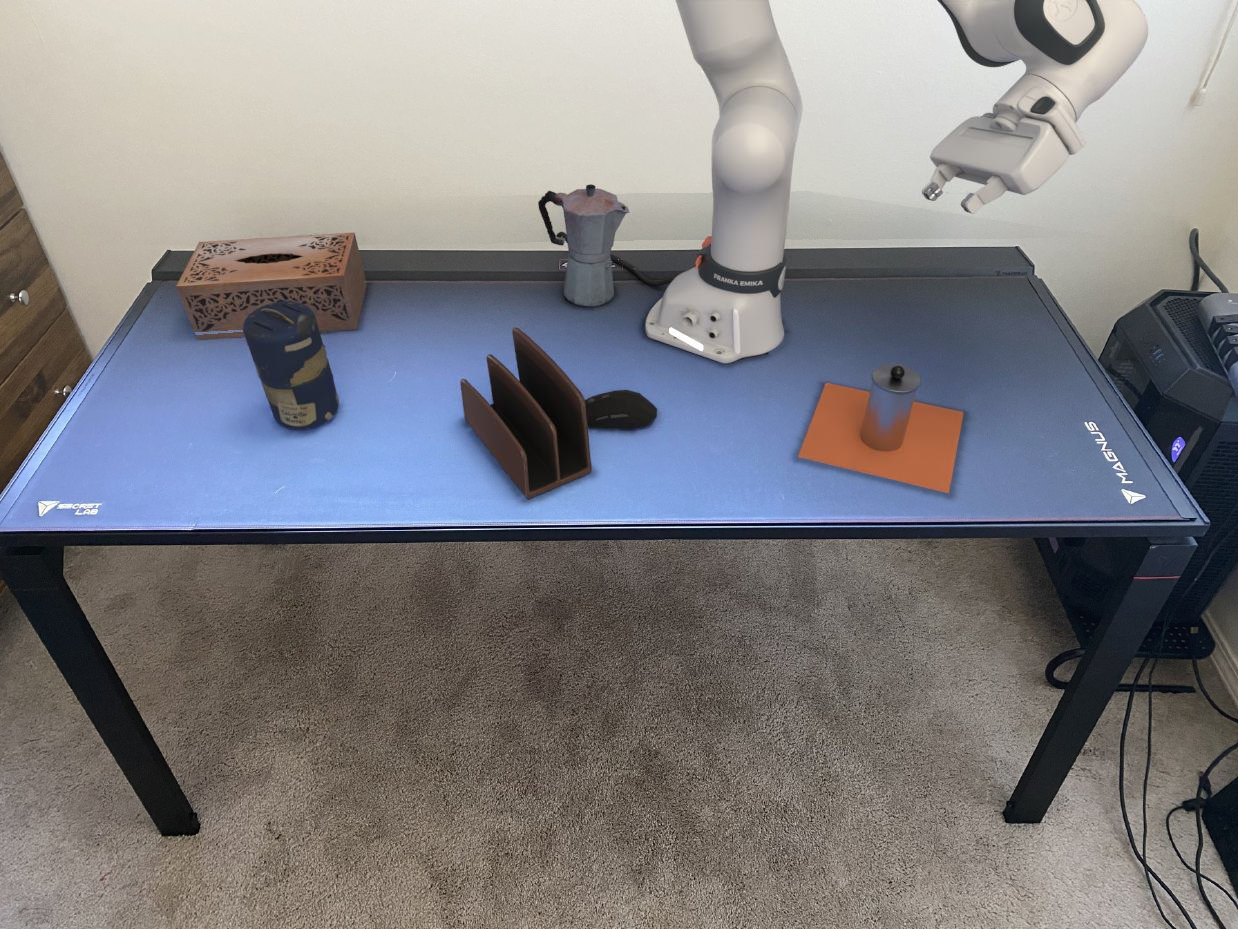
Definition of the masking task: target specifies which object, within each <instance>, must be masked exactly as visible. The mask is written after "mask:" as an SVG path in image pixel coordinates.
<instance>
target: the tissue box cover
mask: <svg viewBox="0 0 1238 929" xmlns="http://www.w3.org/2000/svg"><path fill="white" fill-rule="evenodd" d="M365 279H366V274H365V270H364V267H363V261H362V258H361V253H360V248H359V246H358V241H357V237H356V232H342V233H341V232H340V233H339V232H338V233H325V234H307V235H292V236H291V235H290V236H289V235H288V236H278V237H277V236H276V237H275V236H274V237H259V238H258V237H257V238H256V237H255V238H243V239H242V238H241V239H224V240H211V241H210V240H208V241H199V242H198V244H197V245H196V247H195V248H194V251H193V253H192V255H191V257H190V259H189V261H188V263H187V264H186V267H185V268H184V271H183V272H182V274H181V275H180V277H179V279H178V282H177V284H176V285H175V288H176V290H177V293H178V295H179V297H180V300H181V303H182V305H183V308H184V311H185V313H186V315H187V318H188V320H189V323H190V325H191V328H192V330H193V333H194V332H209V331H210V332H211V331H228V330H243V325H244V321H245V319H246V318H247V317H248V315H249V314H251V313H252V312H253V311H254V310H256V309H258V308H260V307H262V306H264V305H267V304H270V303H274V302H281V301H292V302H298V303H301V304H304V305H306V306H307V307H309V308H310V309H311V310H312V311H313V313H314V315H315V317H316V320H317V324H318V328H319V331H320V333H322V332H325V333H326V332H336V331H337V332H338V331H352V330H354V331H355V330H358V328H359V327H358V326H359V321H360V318H361V312H362V308H363V303H364V299H365V294H366V289H367V285H368V283H367V279H366V280H365ZM364 281H365V285H364ZM363 288H364V289H363ZM362 292H363V294H362ZM361 297H362V298H361ZM195 337H196V340H197V341H205V340H219V339H231V338H232V339H233V338H245V335H244V332H233V333H218V334H203V335H195Z"/></svg>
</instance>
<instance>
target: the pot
mask: <svg viewBox="0 0 1238 929" xmlns="http://www.w3.org/2000/svg"><path fill="white" fill-rule="evenodd" d="M921 383H922V379H921V376H920V375H919V374H918V372H917V371H916V370H914V369H912V368H911V367H909V366H906V365H904V364H901V363H885V364H880V365H879V366H876V367H875V368H874V370H873V371H872V373H871V385H870V391H869V392H870V394H869V399H868V403H867V408H866V412H865V417H864V422H863V426H862V431H861V439H862V441H863V442H864V443H865V444H866V445H867V446H868V447H870V448H872V449H875V450H878V451H886V452H887V451H894V450H896V449H898V448H900V447H901V446H902V444H903V441H904V437H905V433H906V429H907V426H908V422H909V418H910V414H911V410H912V407H913V403H914V402H915V398H916V395H917V391H918V389H919V388H920V385H921Z"/></svg>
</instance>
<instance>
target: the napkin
mask: <svg viewBox="0 0 1238 929" xmlns="http://www.w3.org/2000/svg"><path fill="white" fill-rule="evenodd" d="M823 386H824V387H823V389H822V392H821V394H820V397H819V400H818V402H817V404H816V407H815V410H814V413H813V415H812V418H811V420H810V423H809V426H808V428H807V431H806V435H805V436H804V439H803V441H802V443H801V444H802V445H801V446H800V449H799V452H798V454H797V457H798V458H800V459H805V460H810V461H814V462H817V463H822V464H824V465H825V464H826V465H830V466H833V467H838V468H843V469H846V470H850V471H855V472H859V473H862V474H867V475H871V476H875V477H879V478H884V479H889V480H892V481H897V482H900V483H905V484H908V485H913V486H917V487H921V488H925V489H929V490H934V491H938V492H942V493H946V494H949V493H950V490H951V484H952V479H953V473H954V468H955V461H956V456H957V453H958V452H957V451H958V447H959V446H958V445H959V441H960V435H961V430H962V425H963V419H964V411H961V410H957V409H956V410H955V409H951V408H947V407H942V406H937V405H933V404H928V403H924V402H918V401H914V403H913V407H912V410H911V414H910V418H909V422H908V426H907V429H906V433H905V437H904V441H903V444H902V446H901V447H900V448H898V449H896V450H894V451H887V452H886V451H878V450H875V449H872V448H870V447H868V446H867V445H866V444H865V443H864V442H863V441H862V439H861V431H862V426H863V422H864V417H865V412H866V408H867V403H868V399H869V394H870V391H867V390H862V389H857V388H855V387H854V388H853V387H849V386H844V385H839V384H835V383H830V382H825V384H824V385H823Z"/></svg>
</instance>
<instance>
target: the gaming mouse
mask: <svg viewBox="0 0 1238 929" xmlns="http://www.w3.org/2000/svg"><path fill="white" fill-rule="evenodd" d="M585 406H586V417H587V425H588V429H589V428H590V429H591V428H592V429H603V430H604V429H607V430H608V429H609V430H612V429H613V430H625V431H627V430H628V431H629V430H630V431H631V430H632V431H633V430H638V429H643V428H646V427H648V426H650V424H652V423H653V422H654V421H655V420H656V418H657V417H658V408H657V406H655V405H654V404H653V403H652V402H651V401H650V400H648V399H647V397H645V396H644V395H643V394H642V393H640V392H637V391H633V390H629V389H618V390H617V389H615V390H610V391H606V392H603V393H602V392H601V393H599V394H596V395H593V396H590V397H588V398H586V399H585Z"/></svg>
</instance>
